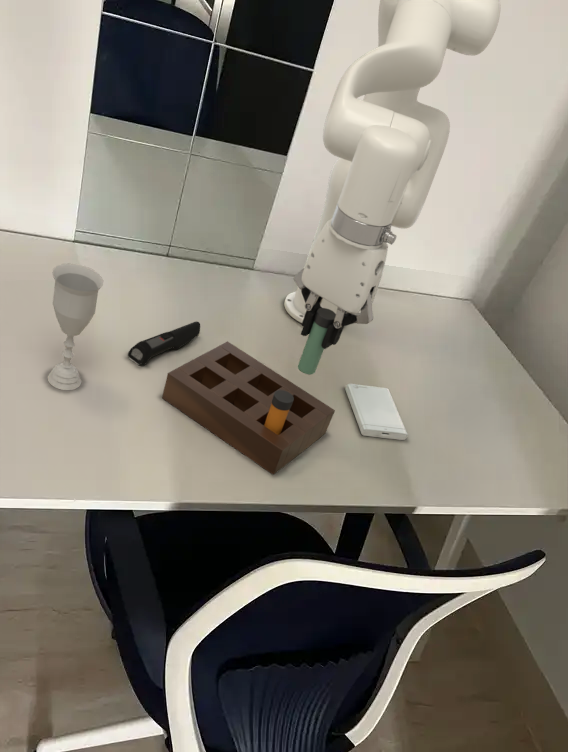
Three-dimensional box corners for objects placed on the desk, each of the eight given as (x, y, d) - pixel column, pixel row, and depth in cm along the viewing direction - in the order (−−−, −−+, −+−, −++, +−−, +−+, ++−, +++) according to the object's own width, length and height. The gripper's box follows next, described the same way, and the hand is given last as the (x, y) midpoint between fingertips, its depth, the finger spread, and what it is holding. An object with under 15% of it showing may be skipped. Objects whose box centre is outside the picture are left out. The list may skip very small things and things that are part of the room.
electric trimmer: (203, 341, 140) (207, 326, 138) (141, 368, 129) (145, 352, 127) (187, 331, 141) (191, 315, 139) (125, 356, 130) (128, 340, 128)
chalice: (97, 387, 122) (113, 285, 111) (60, 399, 118) (73, 295, 106) (68, 361, 125) (81, 259, 114) (31, 372, 121) (41, 268, 109)
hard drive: (347, 382, 140) (364, 428, 131) (389, 388, 142) (409, 433, 133) (344, 390, 141) (361, 435, 132) (386, 395, 143) (405, 440, 134)
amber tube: (263, 437, 124) (281, 387, 118) (279, 447, 124) (297, 397, 117) (253, 445, 122) (270, 394, 116) (268, 455, 121) (286, 405, 115)
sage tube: (303, 360, 122) (323, 305, 115) (319, 370, 121) (340, 315, 115) (293, 367, 120) (313, 311, 113) (309, 377, 119) (330, 322, 112)
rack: (220, 365, 136) (227, 341, 133) (325, 433, 130) (335, 410, 126) (161, 398, 125) (167, 372, 122) (273, 475, 118) (282, 450, 115)
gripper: (423, 247, 105) (375, 358, 117) (323, 192, 110) (286, 304, 122) (399, 261, 100) (350, 376, 112) (295, 203, 105) (259, 319, 116)
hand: (317, 338), depth 117 cm, fingers closed on sage tube, 3 cm apart
